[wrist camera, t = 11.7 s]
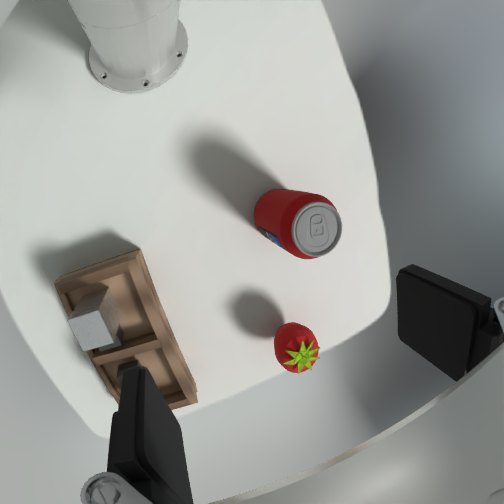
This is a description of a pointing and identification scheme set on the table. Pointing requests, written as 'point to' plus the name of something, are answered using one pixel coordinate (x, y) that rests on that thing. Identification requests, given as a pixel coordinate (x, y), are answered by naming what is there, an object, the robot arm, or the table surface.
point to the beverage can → (299, 222)
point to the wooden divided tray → (133, 327)
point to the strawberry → (295, 347)
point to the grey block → (97, 321)
